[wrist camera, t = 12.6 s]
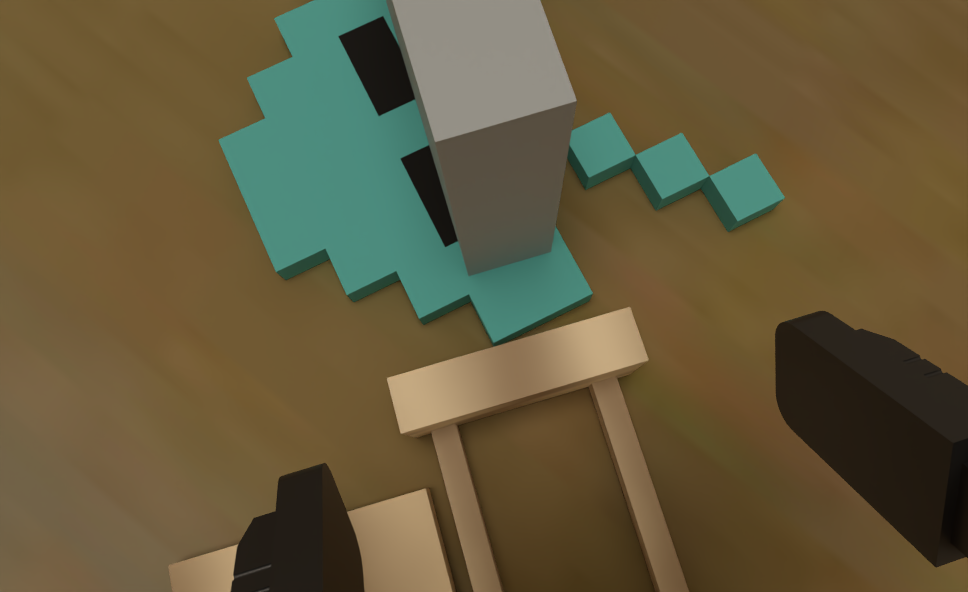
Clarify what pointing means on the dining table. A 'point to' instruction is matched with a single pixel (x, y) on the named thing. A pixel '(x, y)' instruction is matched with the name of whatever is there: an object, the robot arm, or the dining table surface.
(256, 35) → the dining table surface
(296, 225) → the alien figure
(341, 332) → the dining table surface
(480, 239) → the gray eraser-like brick
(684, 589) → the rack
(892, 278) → the dining table surface
